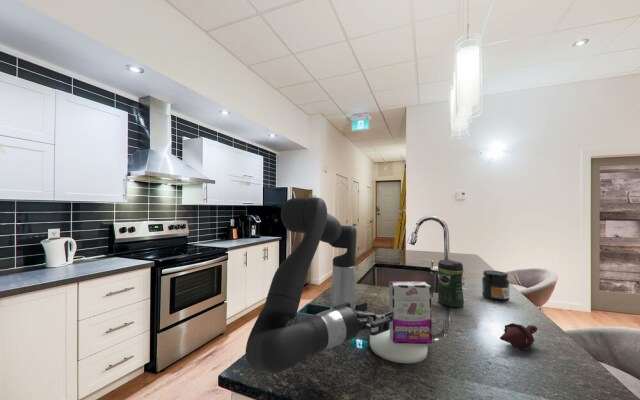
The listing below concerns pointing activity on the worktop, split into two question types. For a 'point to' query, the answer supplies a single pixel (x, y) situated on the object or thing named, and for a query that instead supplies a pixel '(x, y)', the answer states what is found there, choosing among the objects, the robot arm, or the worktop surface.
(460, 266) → the coffee jar
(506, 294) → the supplement container
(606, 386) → the worktop surface
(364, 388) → the worktop surface
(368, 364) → the worktop surface
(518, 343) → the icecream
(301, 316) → the flower pot
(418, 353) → the plate
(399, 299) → the candy bar box
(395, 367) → the worktop surface
